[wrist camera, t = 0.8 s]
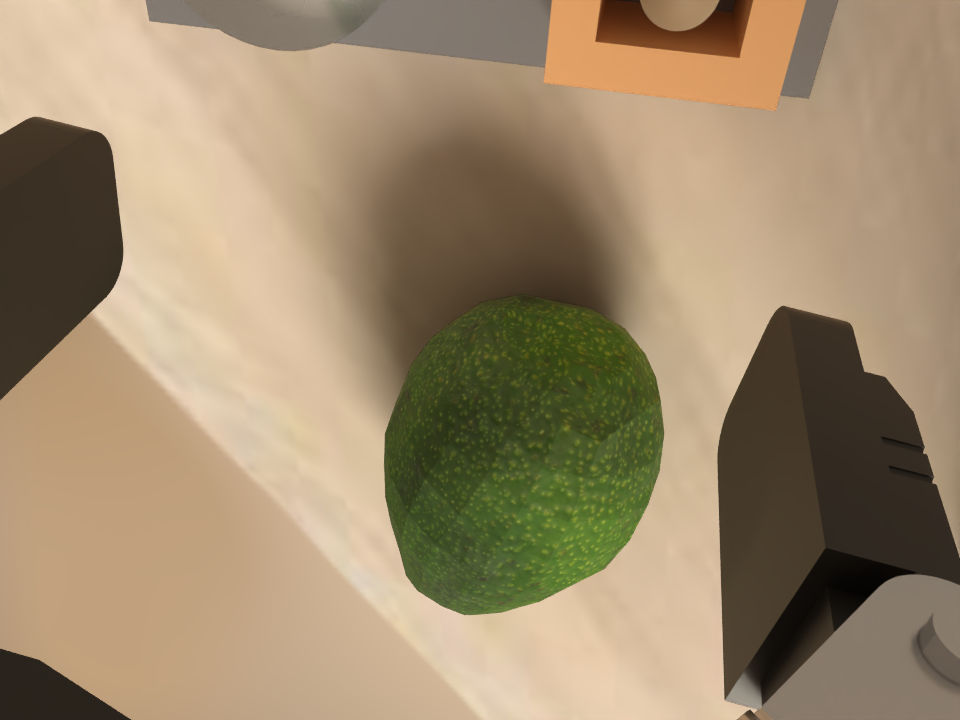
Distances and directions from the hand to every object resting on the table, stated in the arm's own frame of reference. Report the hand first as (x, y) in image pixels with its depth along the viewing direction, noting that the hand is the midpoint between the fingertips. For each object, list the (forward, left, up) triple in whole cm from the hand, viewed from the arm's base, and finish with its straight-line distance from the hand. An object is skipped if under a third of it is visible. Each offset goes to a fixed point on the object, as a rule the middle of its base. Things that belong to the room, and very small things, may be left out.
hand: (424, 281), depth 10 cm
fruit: (-10, +15, -20) cm, 26 cm away
